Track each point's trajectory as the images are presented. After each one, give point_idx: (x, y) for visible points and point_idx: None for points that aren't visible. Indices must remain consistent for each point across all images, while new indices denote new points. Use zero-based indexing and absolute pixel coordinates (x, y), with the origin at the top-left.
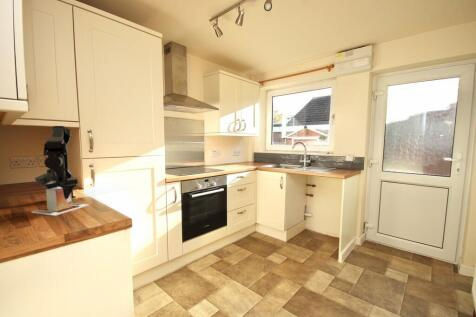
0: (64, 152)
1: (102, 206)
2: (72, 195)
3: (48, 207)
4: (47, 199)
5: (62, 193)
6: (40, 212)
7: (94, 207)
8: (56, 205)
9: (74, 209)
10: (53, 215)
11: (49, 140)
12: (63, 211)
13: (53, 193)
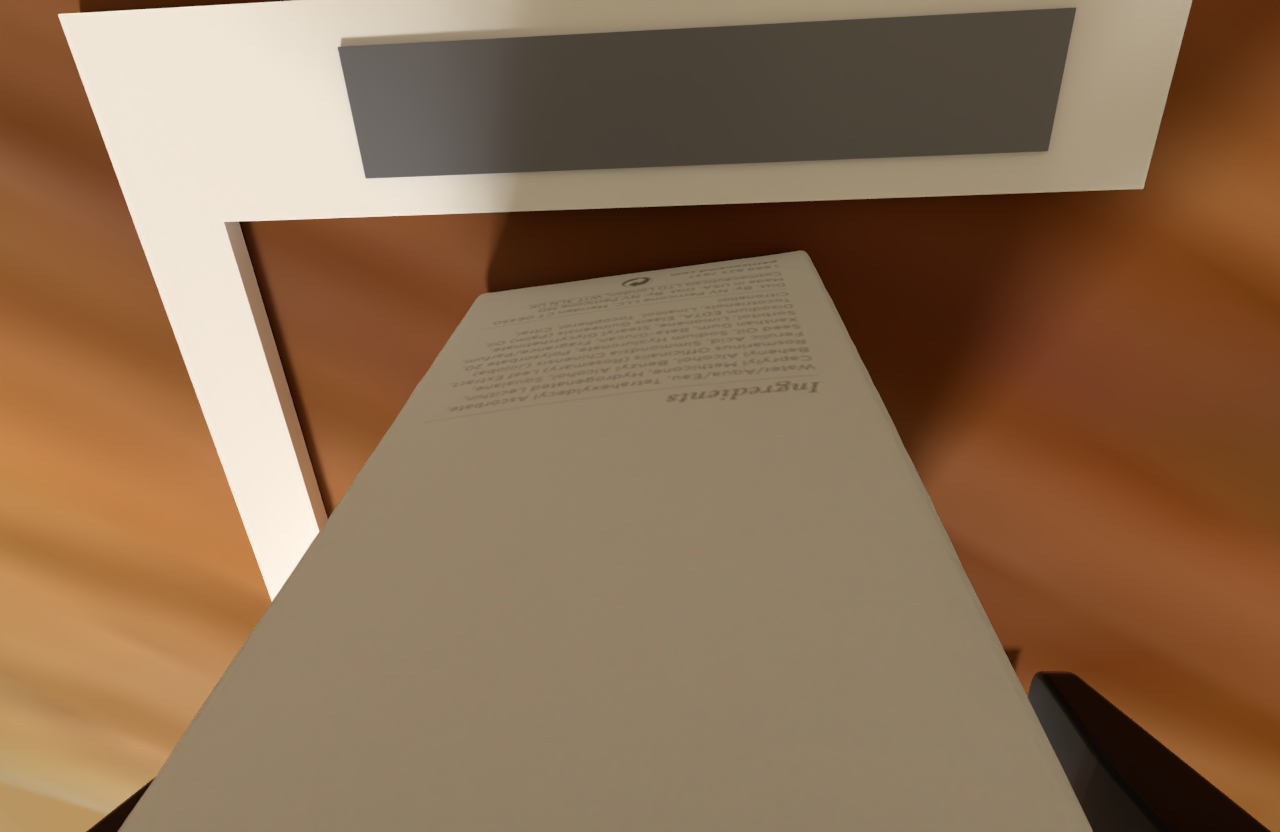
0: None
1: (42, 761)
2: None
3: (768, 283)
4: (838, 416)
5: None
6: (782, 20)
7: (93, 697)
8: (433, 365)
9: (249, 509)
10: (128, 13)
11: None
12: (247, 318)
13: (340, 699)
